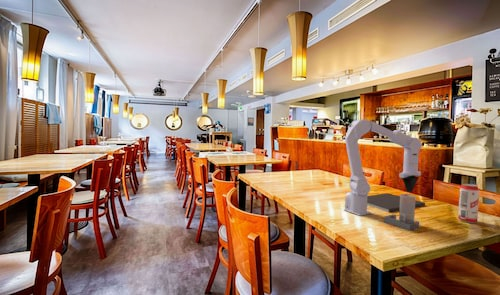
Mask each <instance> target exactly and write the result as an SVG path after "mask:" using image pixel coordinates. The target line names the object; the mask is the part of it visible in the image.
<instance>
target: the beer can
mask: <svg viewBox="0 0 500 295" xmlns="http://www.w3.org/2000/svg"><path fill="white" fill-rule="evenodd" d="M479 200H480V189H479V187H478V184H472V183H462V184H461V186H460V188H459V198H458V201H459V202H458V217H457V218H458V219H459V220H460V222H462V223H467V224H475V223H477V222H478V218H479V217H478V216H479V215H478V214H479Z"/></svg>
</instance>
